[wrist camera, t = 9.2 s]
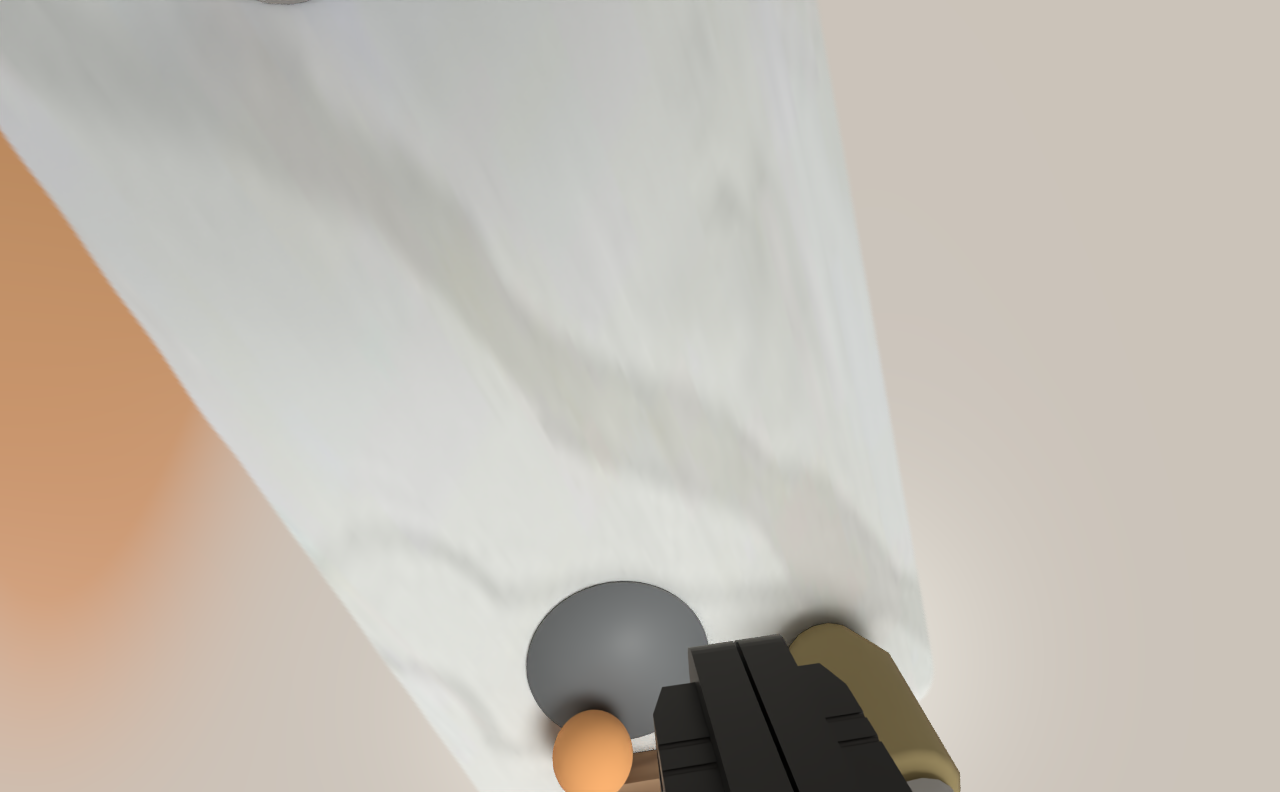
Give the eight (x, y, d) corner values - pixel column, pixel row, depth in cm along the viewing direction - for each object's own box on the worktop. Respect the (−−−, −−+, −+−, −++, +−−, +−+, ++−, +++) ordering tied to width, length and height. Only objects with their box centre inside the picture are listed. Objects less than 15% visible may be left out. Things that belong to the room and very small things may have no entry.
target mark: (514, 595, 41) (514, 597, 41) (702, 569, 42) (703, 571, 42) (540, 751, 44) (539, 753, 44) (714, 724, 45) (714, 726, 45)
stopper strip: (576, 762, 45) (576, 792, 43) (682, 745, 46) (688, 773, 43) (579, 784, 45) (579, 814, 43) (684, 767, 46) (690, 795, 44)
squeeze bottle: (895, 652, 46) (1093, 905, 28) (814, 720, 46) (958, 1007, 29) (830, 587, 44) (1000, 815, 26) (747, 659, 44) (858, 927, 27)
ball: (546, 725, 40) (545, 819, 38) (630, 722, 39) (632, 817, 38) (559, 700, 45) (559, 783, 44) (633, 699, 45) (635, 781, 44)
